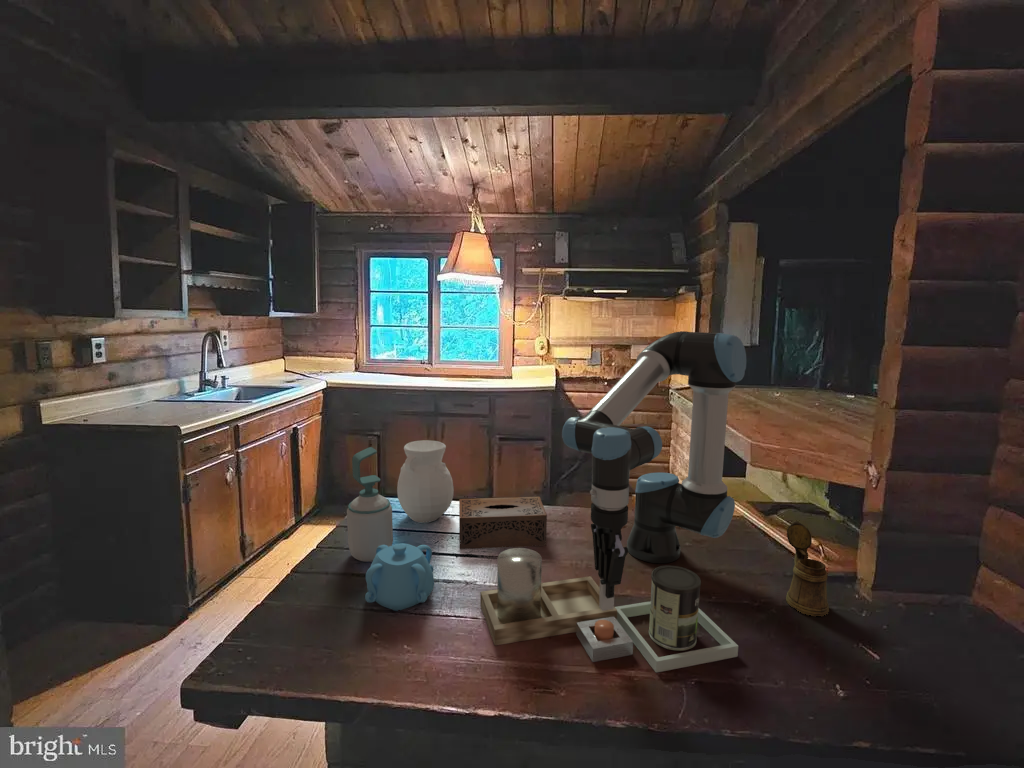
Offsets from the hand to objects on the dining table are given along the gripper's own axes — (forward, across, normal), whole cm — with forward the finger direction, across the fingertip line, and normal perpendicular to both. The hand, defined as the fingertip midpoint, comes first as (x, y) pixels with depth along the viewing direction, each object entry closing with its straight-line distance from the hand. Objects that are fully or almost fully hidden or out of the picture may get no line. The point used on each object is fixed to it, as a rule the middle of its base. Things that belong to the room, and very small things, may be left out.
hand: (606, 607), depth 112 cm
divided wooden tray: (+8, -13, -9) cm, 18 cm away
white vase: (+9, -75, -31) cm, 81 cm away
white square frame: (+9, +1, +15) cm, 18 cm away
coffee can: (+9, +1, +15) cm, 18 cm away
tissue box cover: (+9, -55, -10) cm, 56 cm away
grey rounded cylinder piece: (+7, -13, -16) cm, 21 cm away
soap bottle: (+8, -53, -49) cm, 72 cm away
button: (+8, 0, -1) cm, 8 cm away
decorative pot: (+8, -29, -42) cm, 51 cm away
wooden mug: (+10, -3, +54) cm, 55 cm away
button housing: (+8, 0, -1) cm, 8 cm away
